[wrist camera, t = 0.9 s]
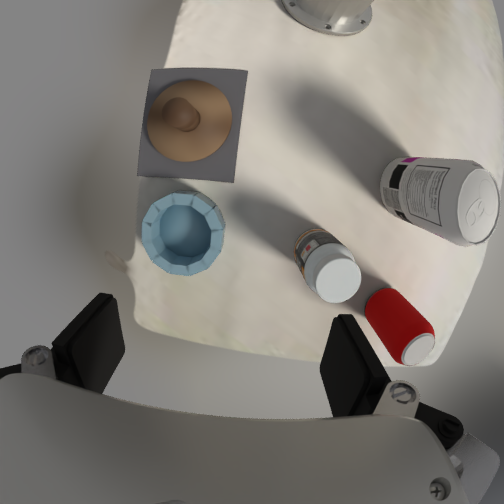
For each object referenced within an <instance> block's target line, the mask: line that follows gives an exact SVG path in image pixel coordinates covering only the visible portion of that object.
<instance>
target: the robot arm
mask: <svg viewBox="0 0 504 504" xmlns="http://www.w3.org/2000/svg"><path fill="white" fill-rule="evenodd" d="M373 1H374V0H282V2H283V5H284V7H285V8H286V10H287V11H288V12H289V14H291V15H292V16H293V17H294V18H295V19H296V20H297V21H299V22H300V23H302V24H303V25H305V26H307V27H309V28H311V29H313V30H316V31H318V32H321V33H325V34H329V35H336V36H348V35H354V34H356V33H359V32H361V31H362V30H364V29H365V28H366V27H367V26H368V25H369V23H370V21H371V19H372V8H371V5H370V4H371V3H372V2H373ZM52 345H53V347H52V349H51V350H50V349H49V348H48V347H46V346H41V345H38V346H33V347H30V348H29V349H27V350H26V351H25V352H24V353H23V355H22V358H21V364H17V365H13V366H9V367H5V368H0V504H479V502H480V501H481V499H482V497H483V496H484V494H485V492H486V491H487V489H488V487H489V485H490V483H491V481H492V479H493V478H494V476H495V474H496V471H497V470H498V468H499V464H500V459H499V456H498V454H497V453H496V452H495V451H493V450H492V449H490V448H489V447H488V446H486V445H485V444H484V443H482V442H481V441H479V440H478V439H476V438H475V437H473V436H472V435H471V434H469V433H467V434H466V435H465V434H463V431H464V429H463V425H462V423H461V422H460V421H459V420H458V419H457V418H456V417H454V416H452V415H450V414H447V413H445V412H442V411H440V410H437V409H435V408H433V407H430V406H428V405H426V404H423V403H421V402H419V400H420V394H419V391H418V389H417V388H416V387H415V386H414V385H412V384H411V383H409V382H407V381H403V380H396V381H391V380H390V378H389V376H388V374H387V373H386V371H385V369H384V367H383V365H382V364H381V362H380V360H379V358H378V357H377V355H376V353H375V351H374V350H373V348H372V346H371V345H370V343H369V341H368V340H367V338H366V336H365V335H364V333H363V331H362V330H361V328H360V326H359V325H358V323H357V321H356V320H355V318H354V316H353V315H352V314H339V315H338V316H337V317H335V318H334V319H333V322H332V326H331V330H330V333H329V337H328V340H327V344H326V347H325V351H324V354H323V357H322V361H321V364H320V374H321V377H322V380H323V384H324V387H325V391H326V394H327V397H328V400H329V404H330V407H331V411H332V414H333V417H331V418H313V419H312V418H310V419H252V418H236V417H223V416H213V415H204V414H195V413H188V412H181V411H175V410H169V409H163V408H158V407H153V406H148V405H144V404H139V403H134V402H130V401H126V400H121V399H117V398H114V397H111V396H107V395H104V394H102V393H103V391H104V389H105V387H106V386H107V384H108V382H109V380H110V378H111V376H112V375H113V373H114V371H115V369H116V367H117V366H118V364H119V362H120V360H121V359H122V357H123V355H124V353H125V345H124V340H123V335H122V330H121V324H120V319H119V312H118V306H117V300H116V299H115V298H113V295H112V294H106V293H99V294H98V295H97V296H96V297H95V298H94V299H93V300H92V301H91V302H90V303H89V304H88V305H87V306H86V307H85V308H84V309H83V310H82V311H81V312H80V313H79V314H78V315H77V316H76V317H75V318H74V319H73V320H72V321H71V322H70V323H69V325H68V326H67V327H66V328H65V329H64V330H63V331H62V332H61V333H60V334H59V335H58V336H57V338H56V339H55V340H54V341H53V342H52Z"/></svg>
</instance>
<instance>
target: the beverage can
mask: <svg viewBox="0 0 504 504" xmlns="http://www.w3.org/2000/svg"><path fill="white" fill-rule="evenodd" d="M365 316H366V319H367V320H368V322H369V323H370V325H371V326H372V328H373V329H374V331H375V332H376V334H377V335H378V337H379V338H380V340H381V341H382V343H383V344H384V346H385V347H386V349H387V350H388V352H389V353H390V355H391V356H392V358H393V359H394V360H395V361H396V362H398V363H400V364H403V365H407V366H412V365H416V364H418V363H420V362H421V361H423V360H424V359H425V358H426V357H427V356H428V355H429V354H430V352H431V351H432V349H433V347H434V344H435V335H434V330H433V327H432V325H431V324H430V323H429V322H428V321H427V320H426V319H425V318H424V317H423V316H422V315H421V314H420V313H419V312H418V311H417V310H416V309H415V308H414V307H413V306H412V305H411V304H410V303H409V302H408V301H407V300H406V299H405V298H404V297H403V296H402V295H401V294H400V293H399V292H398V291H397V290H395V289H392V288H383V289H380V290H378V291H376V292H375V293H374V294H372V295H371V297H370V298H369V299H368V301H367V303H366V306H365Z"/></svg>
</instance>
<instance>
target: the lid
mask: <svg viewBox="0 0 504 504" xmlns="http://www.w3.org/2000/svg"><path fill="white" fill-rule="evenodd" d="M231 125H232V112H231V108H230V105H229V102H228V100H227V98H226V97H225V95H224V94H223V93H222V92H221V91H220V90H219V89H218V88H217V87H215V86H214V85H212V84H210V83H207V82H204V81H198V80H188V81H182V82H179V83H176V84H174V85H172V86H170V87H169V88H167V89H166V90H164V91H163V92H162V93H161V94H160V95H159V96H158V97H157V98H156V100H155V101H154V103H153V104H152V106H151V108H150V111H149V114H148V119H147V130H148V135H149V138H150V141H151V142H152V144H153V146H154V147H155V148H156V149H157V151H158V152H160V153H161V154H162V155H164V156H165V157H167V158H169V159H172V160H175V161H181V162H192V161H198V160H201V159H204V158H206V157H208V156H210V155H212V154H213V153H214V152H216V151H217V150H218V149H219V148H220V147H221V146H222V145H223V143H224V142H225V140H226V139H227V137H228V135H229V132H230V130H231Z"/></svg>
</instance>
